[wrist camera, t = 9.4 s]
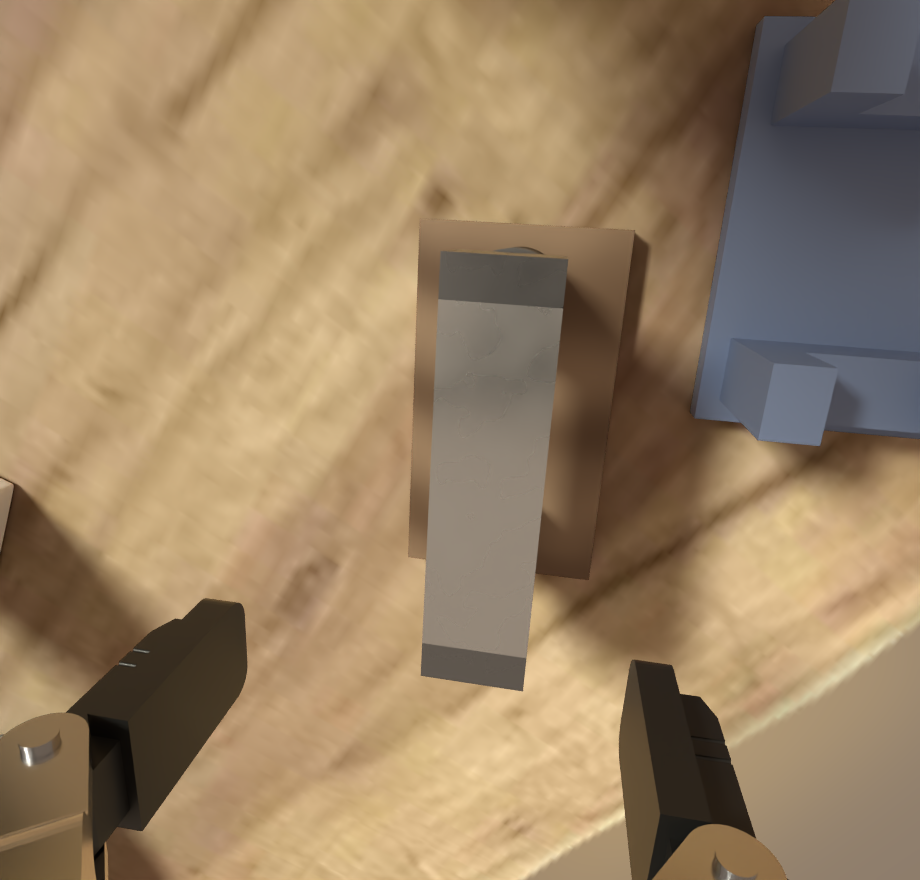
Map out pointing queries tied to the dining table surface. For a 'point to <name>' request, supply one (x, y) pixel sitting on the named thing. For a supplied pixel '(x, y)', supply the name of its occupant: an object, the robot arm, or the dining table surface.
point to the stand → (577, 378)
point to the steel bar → (489, 459)
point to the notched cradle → (821, 233)
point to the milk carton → (4, 505)
